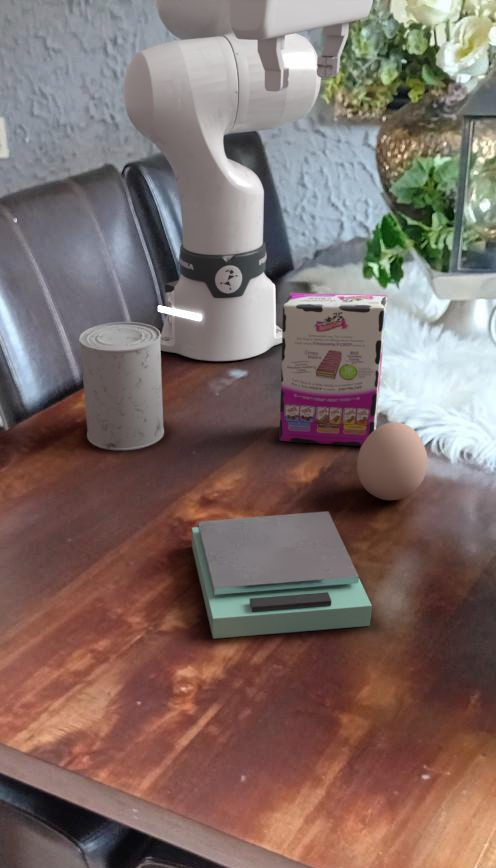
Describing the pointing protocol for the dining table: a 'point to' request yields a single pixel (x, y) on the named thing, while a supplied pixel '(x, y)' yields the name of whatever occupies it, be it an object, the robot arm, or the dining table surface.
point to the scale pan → (275, 553)
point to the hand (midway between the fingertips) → (302, 83)
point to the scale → (280, 606)
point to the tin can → (122, 385)
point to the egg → (392, 461)
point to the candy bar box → (331, 367)
